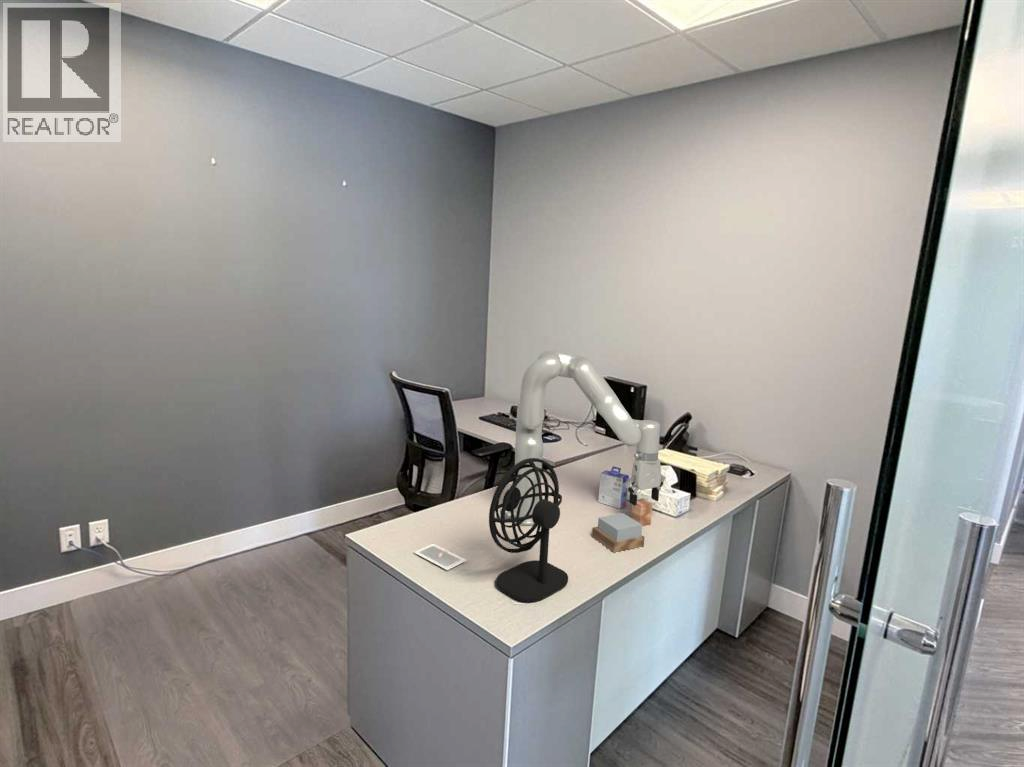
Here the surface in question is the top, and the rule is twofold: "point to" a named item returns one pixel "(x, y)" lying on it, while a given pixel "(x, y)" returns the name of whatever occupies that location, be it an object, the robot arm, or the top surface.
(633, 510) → the terracotta block
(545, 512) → the desk fan
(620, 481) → the ink cartridge box
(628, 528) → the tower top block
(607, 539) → the tower base block
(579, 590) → the top surface
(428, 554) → the touchpad
